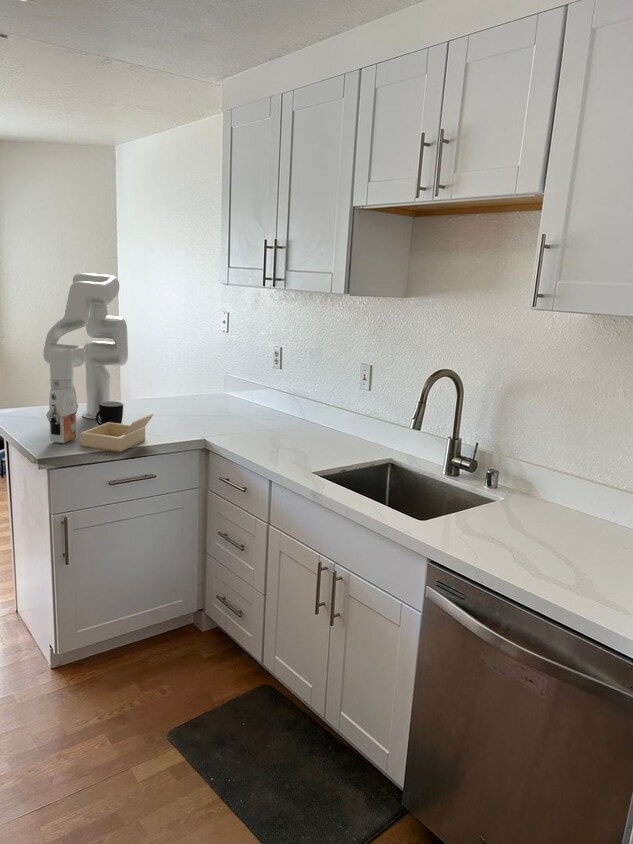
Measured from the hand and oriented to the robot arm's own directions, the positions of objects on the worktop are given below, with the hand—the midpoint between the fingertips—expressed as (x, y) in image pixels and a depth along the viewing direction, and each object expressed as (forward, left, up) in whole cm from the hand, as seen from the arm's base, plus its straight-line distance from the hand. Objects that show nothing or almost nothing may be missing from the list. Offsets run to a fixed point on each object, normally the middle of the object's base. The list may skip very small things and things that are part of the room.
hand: (63, 431), depth 222 cm
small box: (0, 0, -3) cm, 3 cm away
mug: (-22, +4, -4) cm, 23 cm away
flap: (-6, +26, +5) cm, 27 cm away
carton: (-6, +16, -4) cm, 18 cm away
